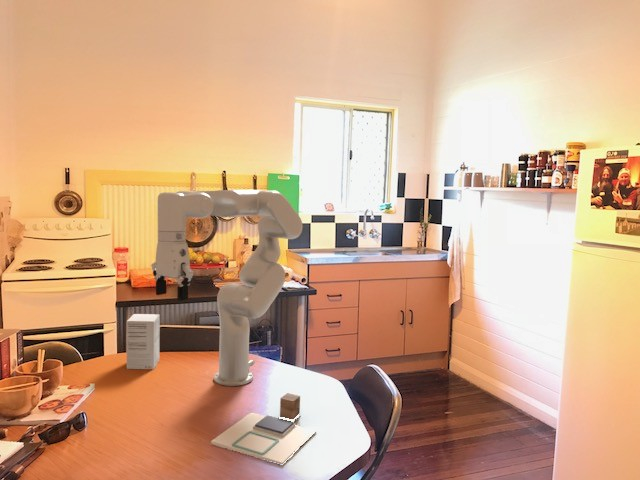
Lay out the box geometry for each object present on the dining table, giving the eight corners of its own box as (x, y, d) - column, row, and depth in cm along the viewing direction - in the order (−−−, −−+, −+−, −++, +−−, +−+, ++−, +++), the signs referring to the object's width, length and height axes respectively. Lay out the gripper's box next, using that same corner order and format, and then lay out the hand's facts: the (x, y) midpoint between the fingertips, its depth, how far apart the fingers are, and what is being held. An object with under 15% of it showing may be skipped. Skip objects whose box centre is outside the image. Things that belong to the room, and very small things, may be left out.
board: (251, 415, 139) (251, 408, 139) (316, 432, 131) (316, 425, 131) (211, 444, 123) (211, 436, 123) (282, 466, 115) (282, 457, 115)
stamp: (286, 412, 142) (287, 392, 141) (300, 416, 140) (301, 395, 139) (278, 419, 138) (279, 398, 137) (293, 423, 136) (293, 401, 135)
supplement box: (133, 359, 178) (133, 313, 177) (159, 359, 179) (160, 313, 178) (125, 369, 169) (125, 320, 167) (154, 369, 170) (154, 321, 168)
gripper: (202, 239, 138) (202, 299, 140) (164, 233, 148) (164, 290, 150) (180, 241, 132) (180, 304, 134) (141, 235, 142) (142, 294, 144)
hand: (171, 297), depth 142 cm, fingers open, 9 cm apart
